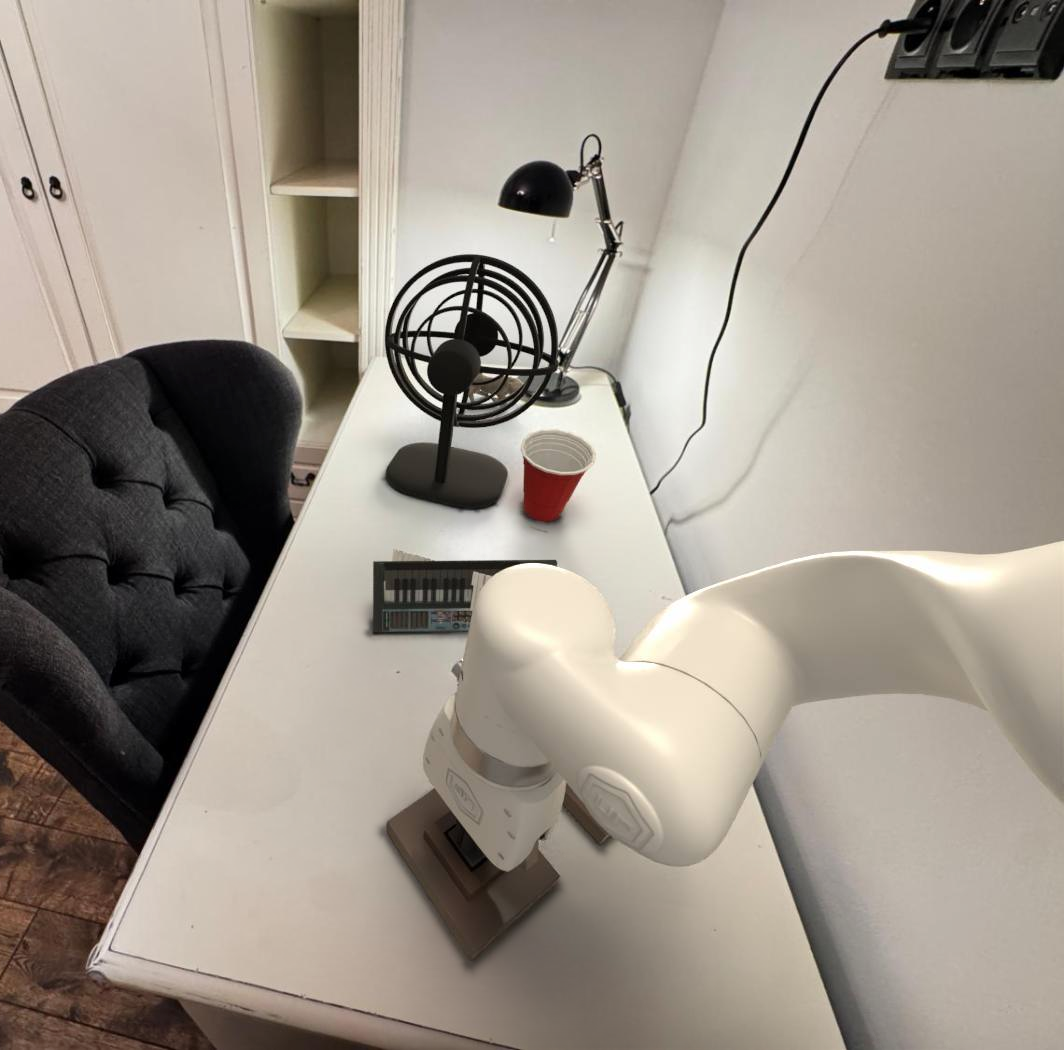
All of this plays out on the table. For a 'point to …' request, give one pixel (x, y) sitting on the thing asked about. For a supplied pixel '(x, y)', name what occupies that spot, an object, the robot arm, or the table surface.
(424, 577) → the synthesizer keyboard
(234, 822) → the table surface
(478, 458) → the desk fan
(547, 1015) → the table surface
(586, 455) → the plastic cup
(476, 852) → the key ebony
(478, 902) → the key block
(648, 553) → the table surface
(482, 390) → the dog figurine
